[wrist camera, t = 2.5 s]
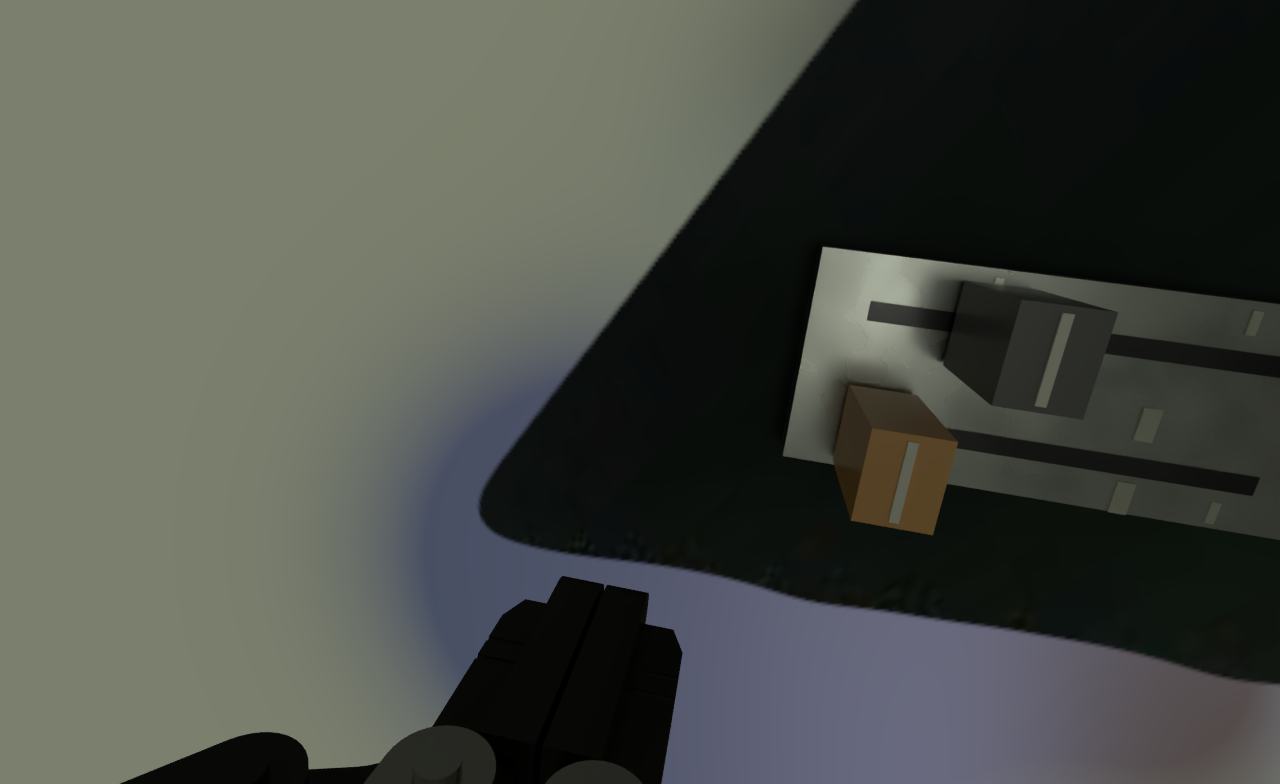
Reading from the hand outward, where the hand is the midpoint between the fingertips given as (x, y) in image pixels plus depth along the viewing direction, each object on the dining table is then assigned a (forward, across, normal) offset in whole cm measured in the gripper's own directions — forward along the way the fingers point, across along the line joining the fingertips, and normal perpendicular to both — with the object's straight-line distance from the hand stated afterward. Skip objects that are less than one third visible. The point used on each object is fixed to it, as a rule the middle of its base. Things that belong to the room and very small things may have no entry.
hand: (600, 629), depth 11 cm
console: (+17, -13, -2) cm, 21 cm away
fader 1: (+14, -7, 0) cm, 16 cm away
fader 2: (+14, -10, -4) cm, 18 cm away
